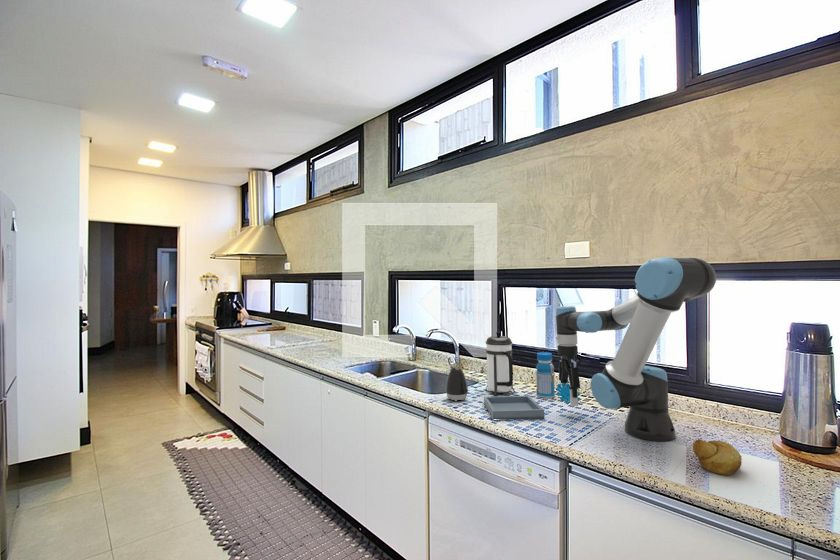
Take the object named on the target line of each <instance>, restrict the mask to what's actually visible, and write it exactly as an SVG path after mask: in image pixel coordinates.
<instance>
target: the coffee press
mask: <svg viewBox="0 0 840 560" xmlns="http://www.w3.org/2000/svg"><path fill="white" fill-rule="evenodd" d="M501 334H502V332H501V331H500V330H497V331H496V335H492V336H489V337H488V338H487V339H486V340H485V344H486V349H485V351H486V352H485V353H486V374H487V375H486V377H487V379H486V381H487V383H486V384H487V385H486V388H484V390H485V391H486V390H488V391H492V392H493V397H498V394H499V393H508V392H509V393H511V395H515V394H516V390H515V389H514V383H513V382H514V366H513V365H514V363H513V349H512V345H513V341H512V339H511V338H510V337H508V336H505V335H501Z"/></svg>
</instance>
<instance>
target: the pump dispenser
mask: <svg viewBox="0 0 840 560" xmlns="http://www.w3.org/2000/svg"><path fill="white" fill-rule="evenodd" d="M468 389H469V388H468V383H467V379H466V375H465V373H464V371H463V369H462V368H460V367H459V366H451V367H450V371H449V373H448V375H447V378H446V383H445V393H446V395H447V398H448V399H449V400H450V399H451V400H450V401H452V400H462V401H464V400H465V399H466V398H467V395H468V393H469V390H468Z"/></svg>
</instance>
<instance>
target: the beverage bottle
mask: <svg viewBox="0 0 840 560" xmlns="http://www.w3.org/2000/svg"><path fill="white" fill-rule="evenodd" d="M536 356H537V357H536V359H537V361H538V362H537V363H536V366H535V369H536V371H535V376H536V377H535V378H536V381H535V383H536V396H537V397H539V398H543V399H552V398H554V397H555V396H556V387H555V371H554V370H555V366H554V364H553V363H552V361H553V353H551V352H547V351H542V352H537V354H536Z"/></svg>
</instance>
